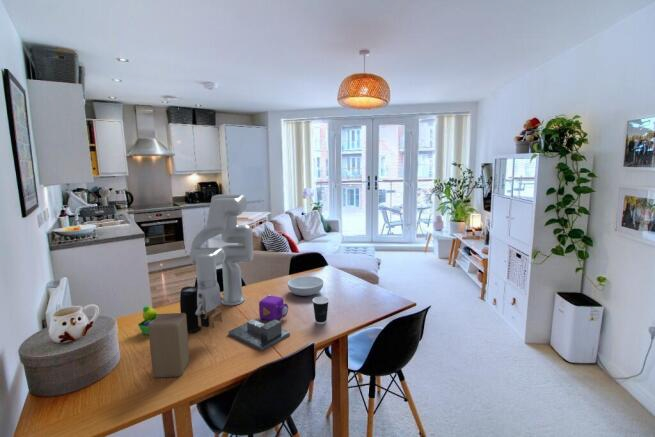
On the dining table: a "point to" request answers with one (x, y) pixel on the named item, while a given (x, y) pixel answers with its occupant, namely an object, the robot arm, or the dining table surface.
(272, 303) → the toy camera
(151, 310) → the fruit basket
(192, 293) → the portable speaker
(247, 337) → the plate
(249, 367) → the dining table surface
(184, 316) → the wooden block
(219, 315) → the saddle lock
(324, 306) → the dixie cup
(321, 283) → the serving bowl
